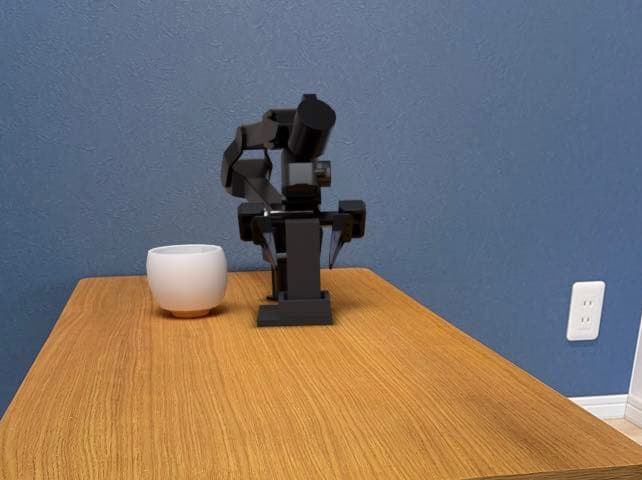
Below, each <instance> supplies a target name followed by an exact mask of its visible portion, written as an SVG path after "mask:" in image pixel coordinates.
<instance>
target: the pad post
mask: <svg viewBox="0 0 642 480" xmlns="http://www.w3.org/2000/svg"><path fill="white" fill-rule="evenodd" d="M285 227H286V253H285V254H286V256H287V285H288V300H309V299H321V290H322V288H321V285H322V284H321V255H320V224H319V219H318V218H311V219H286V220H285Z"/></svg>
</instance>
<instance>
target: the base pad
mask: <svg viewBox="0 0 642 480" xmlns="http://www.w3.org/2000/svg"><path fill="white" fill-rule="evenodd" d="M331 302H332V300H331V295H330V290H328V289H326V290H325V289H324V290H322V289H321V299H309V300H288V291H286V292H279V298H278V300H277V304H276V303H275V304H274V303H273V304H259V305H258V310H257V311H258V312H257V318H256V327H287V326H288V327H289V326H291V327H292V326H319V325H321V326H322V325H325V326H326V325H333V314H332V303H331Z"/></svg>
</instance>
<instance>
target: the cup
mask: <svg viewBox="0 0 642 480" xmlns="http://www.w3.org/2000/svg"><path fill="white" fill-rule="evenodd" d="M145 267H146V277H147V283H148V286H149V288H150V289H149V290H150V291H151V294H152V296H153V299H154V301H155V302H156V303H157V305H158V306H159V307H160V308H161V309H163V310H165V311H169V312H170V313H172V316H173V317H176V318H184V319H186V318H187V319H189V318H199V317H204V316H207V315H208V314H210V310H212V309H214V308H216V307H218V306H219V305H220V304H221V303H222V301H223V299H224V297H225V295H226V291H227V287H228V282H229V274H228V261H227V258H226V255H225V252H224V249H223V248H222V247H221V246H219V245H214V244H203V243H201V244H200V243H199V244H198V243H197V244H191V243H190V244H173V245H165V246H159V247H154V248H151V249H149V250H148V251H147V257H146V264H145Z"/></svg>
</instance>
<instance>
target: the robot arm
mask: <svg viewBox="0 0 642 480" xmlns="http://www.w3.org/2000/svg"><path fill="white" fill-rule="evenodd" d="M336 122H337V114H336V111H335V110H334V109H333V108H332V107H331V105H329V104H328V103H327V102H325V101H323V100H321V99H318V97H317V93H302V96H301V99H300V103H298V105H297V107H295V108H294V107H291V108H287V107H286V108H269V109H267V110H266V111H265V112H264V113H263V114H262V116H261V120H259V121H257V122H253V123H249V124H241V125H240V126H236V130H235V136H234V139H233V140H232V141H231V143H230V144H229V145H228V146H227V148H226V149H225V150H224V151H223V154H222V160H221V166H220V182H221V186H222V187H223V188H224V190H225V191H226V193H227V194H228V195H229V196H231V197H234V198H240V199H245V200H246V201H247V202H240V203H239V205H238V206H237V211H236V212H237V224H238V231H239V239H240V241H242V242H244V243H246V242H252V244H253V245H255V246H260V248H261V256H262V260H263V261H264V262H267V263H269V264H270V270H271V271H270V272H271V273H270V274H271V275H270V276H271V294H269V295H266V296H265V297H266V298H265V299H267V300H272V301H278V298H279V292H286V291H288V285H287V256H286V227H285V220H286V219H311V218H318V219H319V224H320V256H321V255H322V245H323V238H324V229H323V228H331V234H330V244H329V252H328V269H329V270H333V268H334V266H335V263H336V260H337V258H338V255H339V253H340V252H341V251H342V248H343V247H344V245H345V244H349V243H351V242H352V240H353V239H362V238H363V237H364V236H365V232H366V222H367V221H366V220H367V203H366V202H364V200H363V199H360V198H359V199H357V198H356V199H338V202H337V204H338V206H337V210H328V211H327V210H325V211H324V210H323V211H322V208H321V205H322V188H331V187H332V163H331V162H332V161H331V160H319V158H320V157H321V156H323V155H325V153H326V151H327V147H328V145H329V143H330V139H331V137H332V136H331V135H332V133H333V130H334V127H335V125H336ZM261 150H262V151H263V157H254V158H241V157H243V154H244V151H261ZM269 150H270V151H281V153H280V172H281V174H280V175H281V176H280V178H281V186H280V191H278V190H277V188H276V187H275V186H274V185H273V184H272V183H271V182H270V181H271V178H272V172H273V168H274V164H273V162H272V159H271V156H270V154H269Z"/></svg>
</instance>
